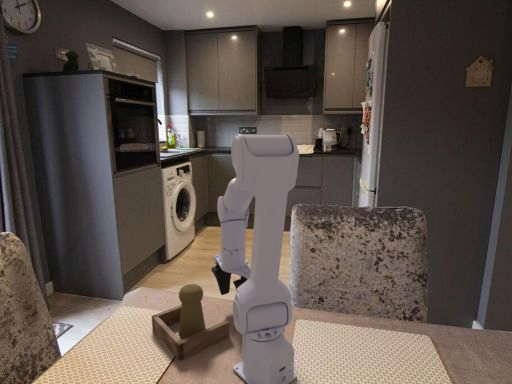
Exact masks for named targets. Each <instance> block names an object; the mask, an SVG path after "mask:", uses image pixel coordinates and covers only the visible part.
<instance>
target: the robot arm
mask: <svg viewBox="0 0 512 384" xmlns="http://www.w3.org/2000/svg"><path fill="white" fill-rule="evenodd" d="M230 150H231V151H230V153H231V156H230V157H231V162H232V163H231V164H232V167H233V169H234V172H235V174H236V175H235V177H234V178H233V179H231V180H230V181H229V182H228V184H227V187H226V190H225V192H224V195H221V196H218V198H217V205H216V207H217V216H218V219H219V221H220V222H219V223H220V247H221V248H220V249H221V251H220V254H215V255H213V264H215V266H212V267H211V268H210V269H211V272H212V274H213V275H214V277H215V279H216V282H217V286H218V289H219V292H220V295H221V296H224V295H227V294H229V293H230V289H231V279H232V274H233V275H237V276H239V277H240V278H238V279H235V280H233V281H232V282H233V283H232V284H233V285H234V287H235V290H236V291H235V296H234V300H233V303H232V317H233V324H234V327H235V329H236V331H237V332H238V333H239V334H240V335H241V337H242V339H241V341H242V342H241V343H242V344H241V346H242V349H241V351H242V352H241V354H242V356H241V357H242V358H241V359H242V361H239V362H238V363H236V364H234V365H233V366H232V370H233V371H234V372H235V373H236V374H237V375H238V376H239V377H240V378H241V379H242V380H244V382H246V383H247V384H290V383H291V382H293V381H295V380H296V379H297V374H296V373H295V372H294V370H295V348H294V346H293V345H292V343H290V341H289V340H288V339H287V338H286V337H285V335H284V333H285V332H286V326H289V325H290V324H291V322H292V319H293V305H292V293H291V292H290V290H289V288H288V286H287V285H286V283H285V282H284V281H282V280H281V279H279V276H280V275H279V274H280V266H281V259H282V257H281V255H282V248H283V240H284V239H283V238H284V230H285V222H286V211H287V204H288V195H289V192H290V191H291V190H292V189H294V188H295V187H296V181H297V178H298V171H299V170H298V168H299V162H300V152H299V148H298V145H297V142H296V140H295V138H294V137H293V135H292V134H291V133H284V134H242V133H237V134H236V135H235V136H234V137H233V139H232V142H231V149H230ZM253 199H255V203H254V204H255V205H254V207H255V208H254V216H253V219H254V220H253V232H252V247H251V258H250V259H251V260H250V262H249V260H248V259H246V253H247V252H246V251H247V250H246V247H247V246H246V242H247V241H246V234H247V233H246V229H247V228H248V225H249V224H248V222H249V216H250V204H251V203H252V200H253ZM249 263H250V266H249Z"/></svg>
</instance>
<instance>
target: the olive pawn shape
mask: <svg viewBox="0 0 512 384" xmlns="http://www.w3.org/2000/svg"><path fill="white" fill-rule="evenodd" d="M203 297H204V290H203V288H202V287H201V286H200V285H199V284H196V283H190V284H186V285H183V286H182V287H181V288H180V289H179V292H178V298H179V301H180V302H181V304H180V305H181V315H180V322H179V326H178V338H179V339H180V340H183V339H185V338H187V337H190V336H192V335H194V334H196V333H199V332H201V331H203V330H205V329H207V327H206V322H205V316H204V311H203V305H202V300H203Z"/></svg>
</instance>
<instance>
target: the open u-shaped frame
mask: <svg viewBox="0 0 512 384" xmlns="http://www.w3.org/2000/svg"><path fill="white" fill-rule="evenodd" d="M181 305H182V304H180V305H177V306H175V307H172V308H169V309H167V310H164V311H161V312H158V313H155V314H152V315H151V325H152V331H153V332H154V333H155V335H156V336H157V337H158V338H159V339H160V340H161V341H162V342H163V344H164V345H165V346H166V347H167V348H168V349H169V351H171V352H172V354H173V356H175V358H177V360H179V361H182V360H184V359H186V358H189V357H190V356H193V355H194V354H196V353H198V352H201V351H202V350H205V349H206V348H209V347H211V346H213V345H215V344H217V343H219V342H221V341H224V340H226V339H227V338H230V322H229V320H227V319H226V320H223V321H222V322H219V323H217V324H215V325H212V326H211V327H207V328H206V329H205V330H203V331H201V332H199V333H196V334H194V335H192V336H190V337H187V338H185V339H181V338H180V337H179V336H177V334H176V333H175V332H174V331H173V330H172V329H171V328H170V326H173V325H176V324H177V323H180V315H181Z"/></svg>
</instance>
